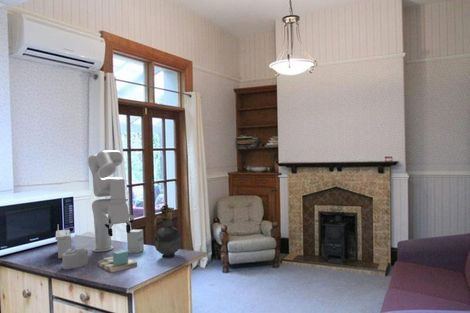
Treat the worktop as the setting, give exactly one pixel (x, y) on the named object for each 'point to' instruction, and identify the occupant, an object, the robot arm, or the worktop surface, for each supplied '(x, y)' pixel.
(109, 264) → the ticket board
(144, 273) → the worktop surface
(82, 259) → the lumpy-topped squat cylinder
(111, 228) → the robot arm
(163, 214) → the pitcher
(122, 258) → the block
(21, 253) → the worktop surface
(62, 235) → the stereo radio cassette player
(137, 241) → the supplement box
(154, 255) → the worktop surface
